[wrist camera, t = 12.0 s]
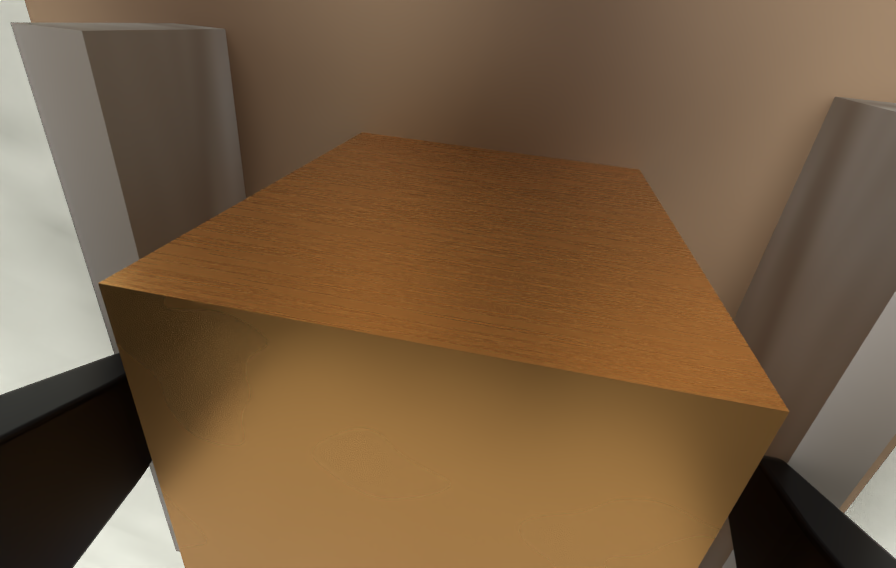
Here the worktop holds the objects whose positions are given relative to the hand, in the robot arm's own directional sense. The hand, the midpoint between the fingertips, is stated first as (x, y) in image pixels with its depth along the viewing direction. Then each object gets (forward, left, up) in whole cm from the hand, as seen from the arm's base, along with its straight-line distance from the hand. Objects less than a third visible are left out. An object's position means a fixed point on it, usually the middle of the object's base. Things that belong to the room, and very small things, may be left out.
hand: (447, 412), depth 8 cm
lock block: (0, 0, -3) cm, 3 cm away
